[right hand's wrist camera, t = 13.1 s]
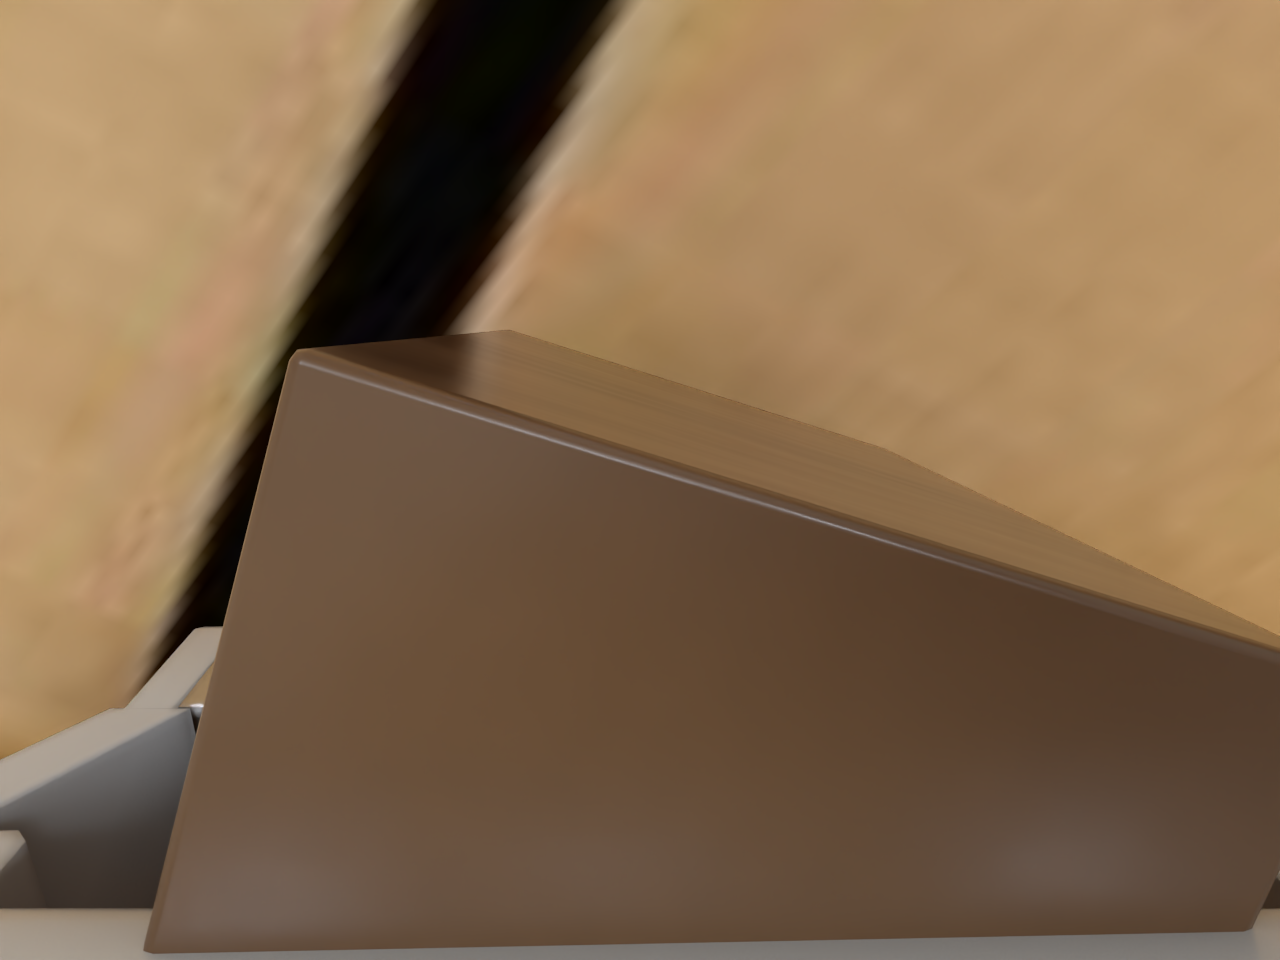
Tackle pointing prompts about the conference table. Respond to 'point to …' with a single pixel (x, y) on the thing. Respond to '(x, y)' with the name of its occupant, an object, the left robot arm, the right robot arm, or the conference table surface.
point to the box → (688, 686)
